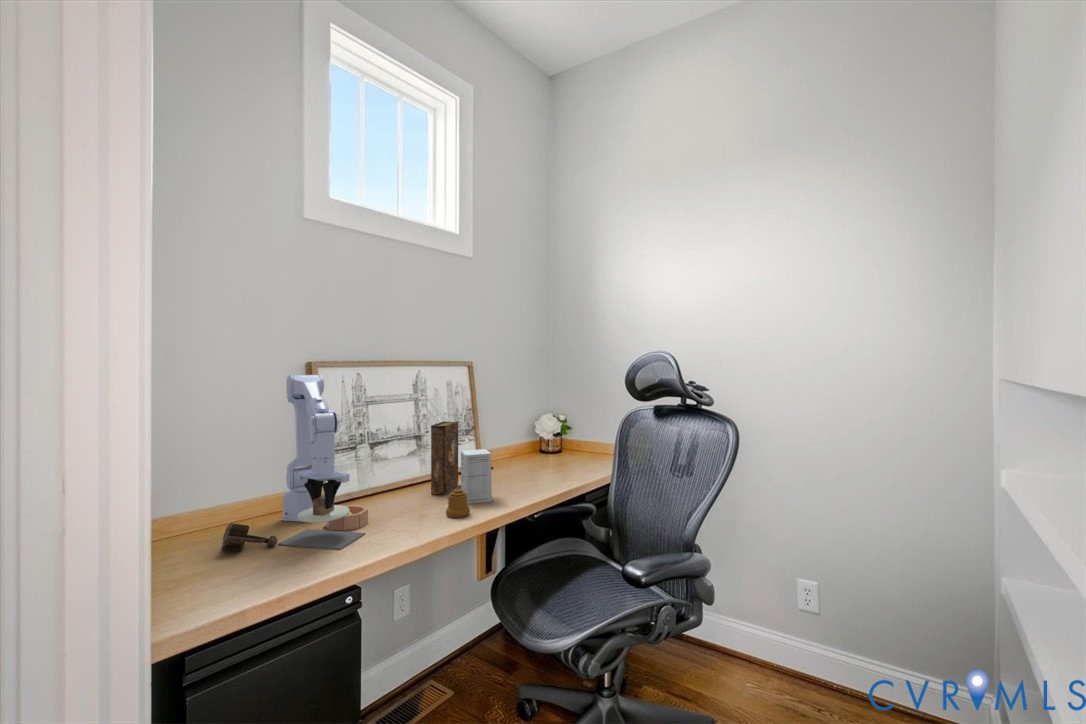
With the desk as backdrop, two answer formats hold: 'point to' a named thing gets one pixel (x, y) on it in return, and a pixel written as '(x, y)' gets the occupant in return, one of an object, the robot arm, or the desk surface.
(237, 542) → the dark brown handled piece
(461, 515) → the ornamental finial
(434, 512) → the desk surface
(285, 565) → the desk surface
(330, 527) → the bowl
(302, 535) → the mat
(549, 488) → the desk surface
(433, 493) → the book
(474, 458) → the grey cabinet
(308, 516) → the lid
